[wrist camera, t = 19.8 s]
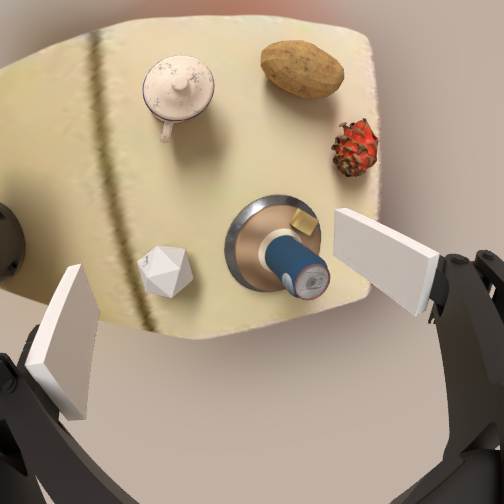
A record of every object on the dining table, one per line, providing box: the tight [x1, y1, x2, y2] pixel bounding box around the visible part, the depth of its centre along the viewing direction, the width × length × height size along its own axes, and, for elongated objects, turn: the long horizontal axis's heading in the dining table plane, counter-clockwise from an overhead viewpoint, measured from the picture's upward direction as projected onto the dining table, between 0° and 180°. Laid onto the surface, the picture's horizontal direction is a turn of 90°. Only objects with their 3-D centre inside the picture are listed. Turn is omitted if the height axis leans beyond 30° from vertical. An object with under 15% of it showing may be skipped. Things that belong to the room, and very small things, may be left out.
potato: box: [261, 41, 344, 99], centre depth 37 cm, size 10×14×8 cm
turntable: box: [234, 204, 320, 291], centre depth 50 cm, size 16×16×5 cm
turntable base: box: [224, 195, 321, 292], centre depth 52 cm, size 19×19×1 cm
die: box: [137, 246, 194, 298], centre depth 44 cm, size 8×9×10 cm
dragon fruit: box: [331, 116, 378, 177], centre depth 46 cm, size 8×8×12 cm
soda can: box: [265, 235, 330, 300], centre depth 45 cm, size 7×7×12 cm
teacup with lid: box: [143, 55, 214, 143], centre depth 33 cm, size 12×9×12 cm
